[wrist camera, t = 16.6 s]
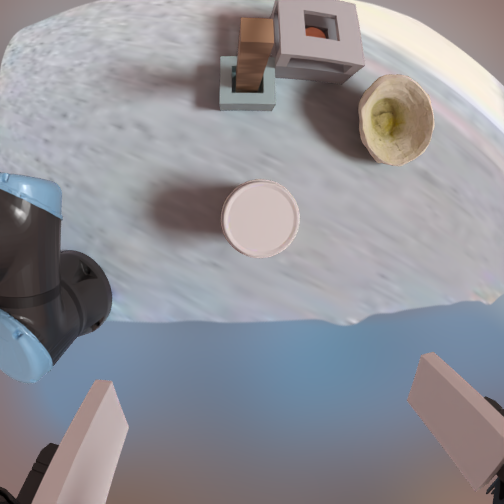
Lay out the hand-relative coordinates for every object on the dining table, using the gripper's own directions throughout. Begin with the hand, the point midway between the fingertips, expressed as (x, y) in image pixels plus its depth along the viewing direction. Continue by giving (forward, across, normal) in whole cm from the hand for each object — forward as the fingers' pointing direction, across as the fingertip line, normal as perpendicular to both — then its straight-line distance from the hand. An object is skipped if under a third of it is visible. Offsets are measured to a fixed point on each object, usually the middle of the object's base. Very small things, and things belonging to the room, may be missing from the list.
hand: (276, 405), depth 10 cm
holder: (+37, +2, +24) cm, 44 cm away
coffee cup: (+37, +2, +4) cm, 37 cm away
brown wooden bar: (+36, +2, +24) cm, 43 cm away
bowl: (+37, +25, +19) cm, 48 cm away
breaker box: (+36, +12, +32) cm, 50 cm away
